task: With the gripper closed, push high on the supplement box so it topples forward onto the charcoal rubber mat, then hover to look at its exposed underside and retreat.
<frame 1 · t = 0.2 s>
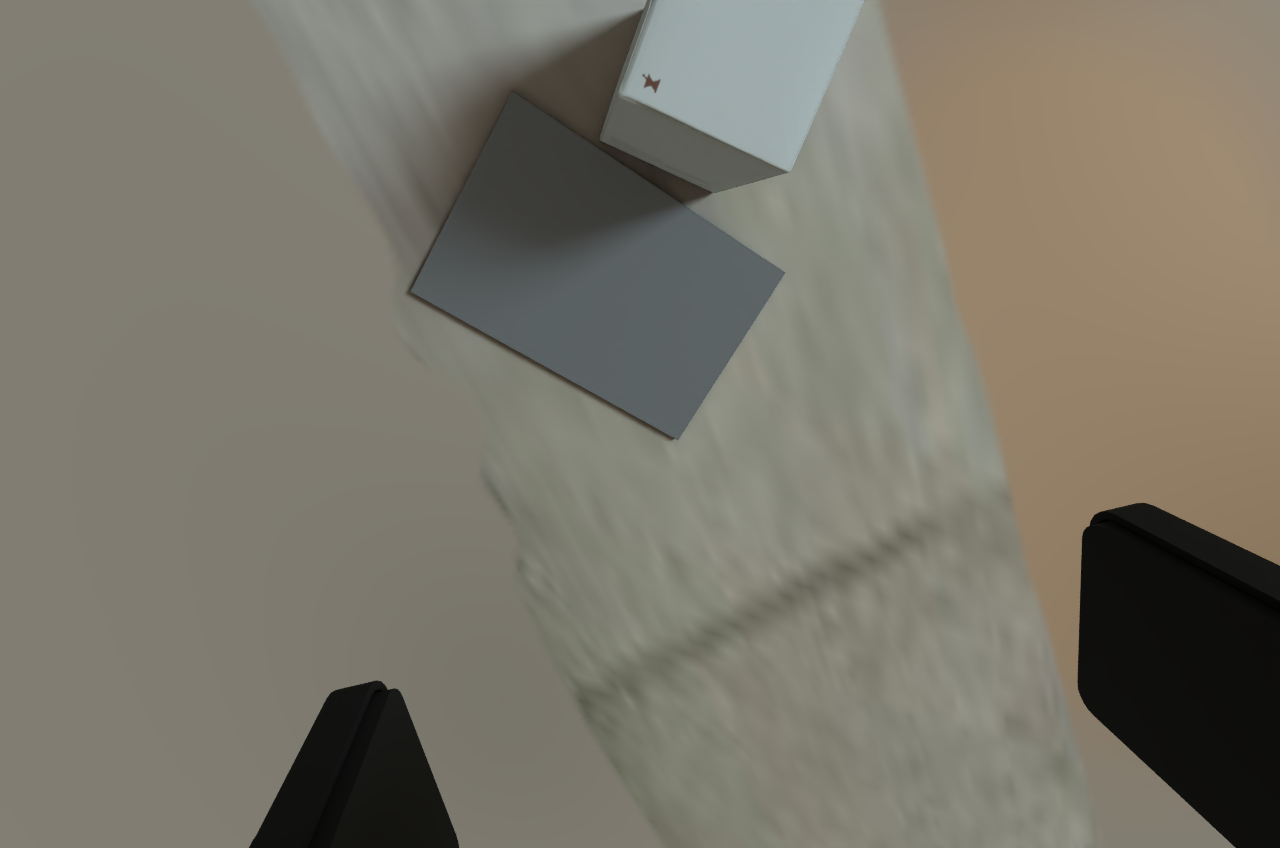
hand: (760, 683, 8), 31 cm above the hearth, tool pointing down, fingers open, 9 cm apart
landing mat: (602, 281, 37), on the hearth
supplement box: (683, 103, 35), on the hearth
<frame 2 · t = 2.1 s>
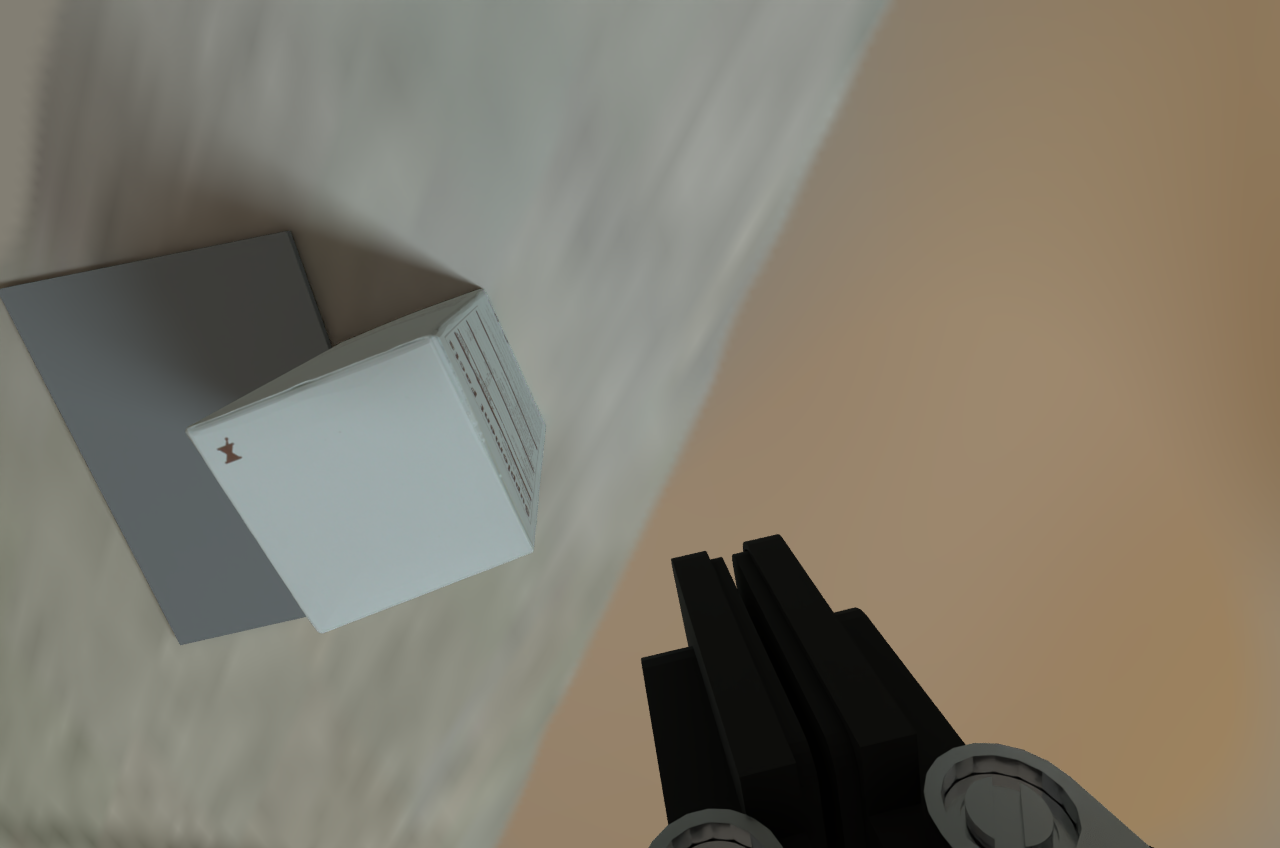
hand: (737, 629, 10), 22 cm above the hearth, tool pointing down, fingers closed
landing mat: (232, 453, 30), on the hearth
supplement box: (449, 385, 30), on the hearth
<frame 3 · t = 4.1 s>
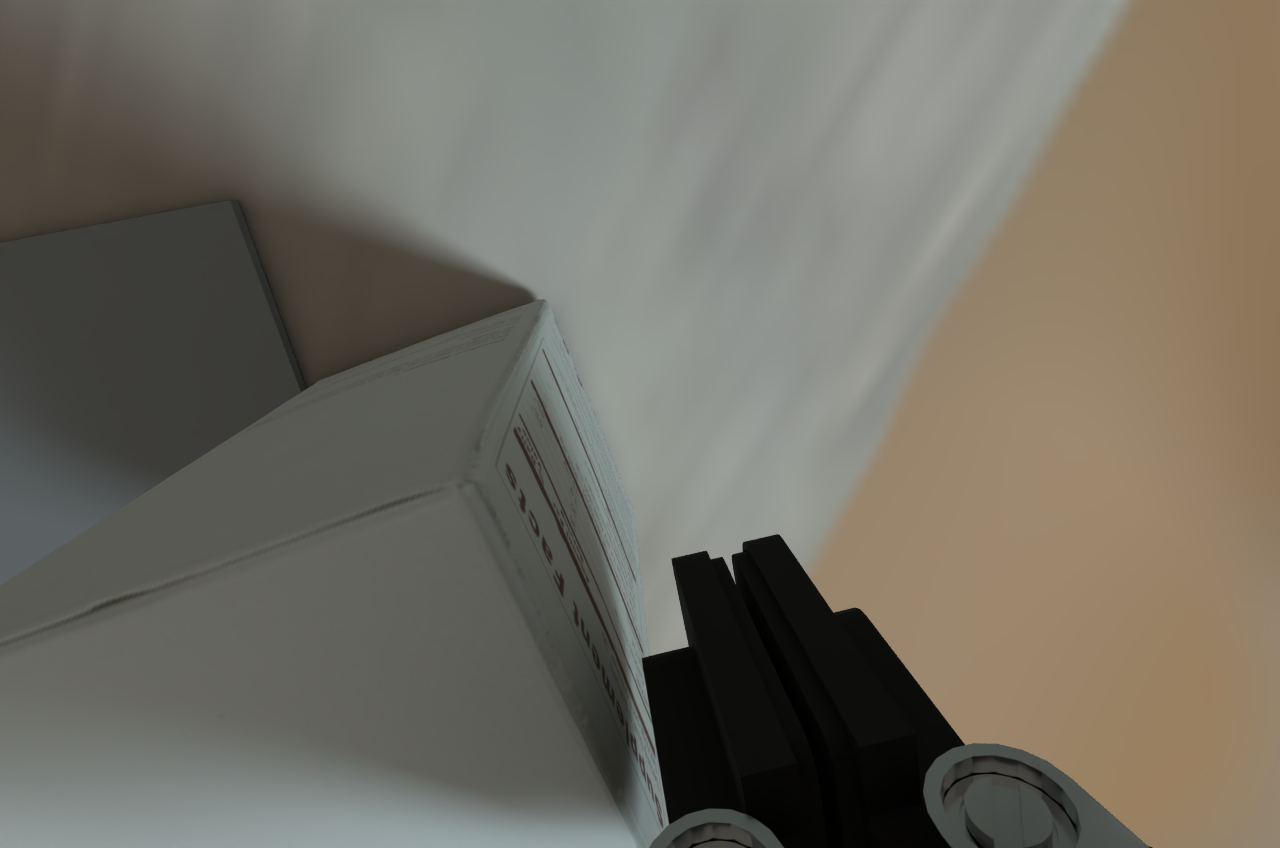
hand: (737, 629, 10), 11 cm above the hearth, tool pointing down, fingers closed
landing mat: (152, 547, 19), on the hearth
supplement box: (486, 445, 19), on the hearth, touching gripper
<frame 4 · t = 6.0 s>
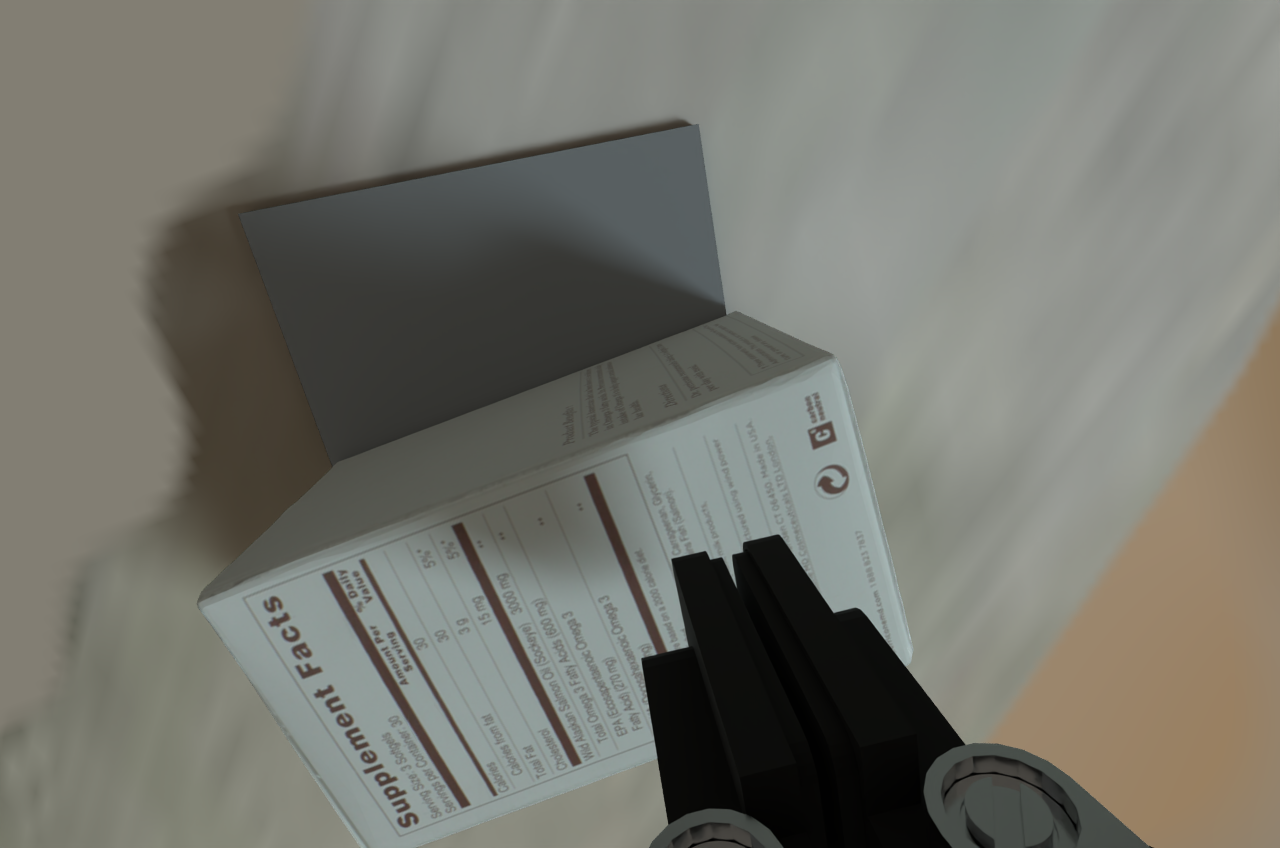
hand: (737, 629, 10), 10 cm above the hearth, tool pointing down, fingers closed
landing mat: (552, 478, 19), on the hearth
supplement box: (827, 458, 16), point 4 cm above the hearth, touching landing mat
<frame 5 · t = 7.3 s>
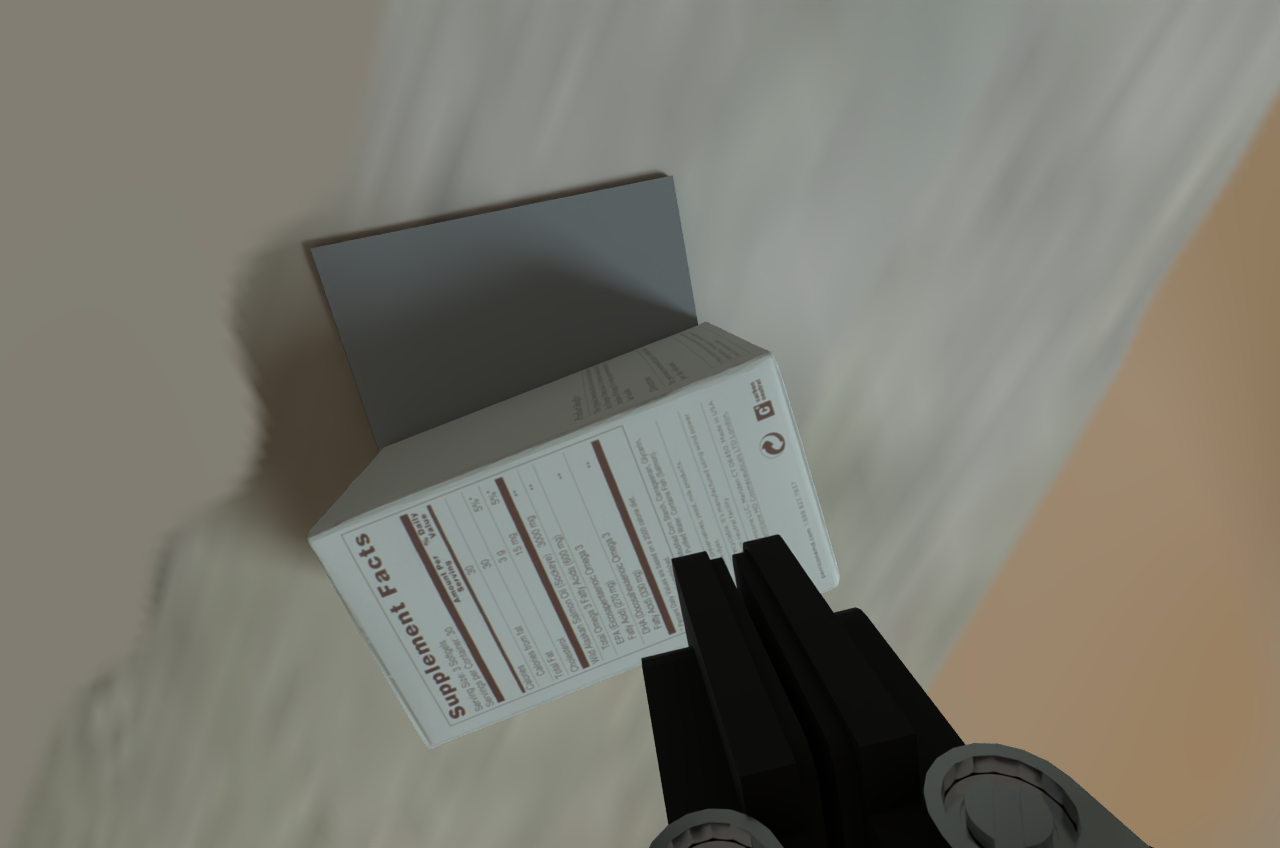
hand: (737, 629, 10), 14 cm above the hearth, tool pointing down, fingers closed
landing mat: (558, 460, 24), on the hearth
supplement box: (777, 435, 20), point 4 cm above the hearth, touching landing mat
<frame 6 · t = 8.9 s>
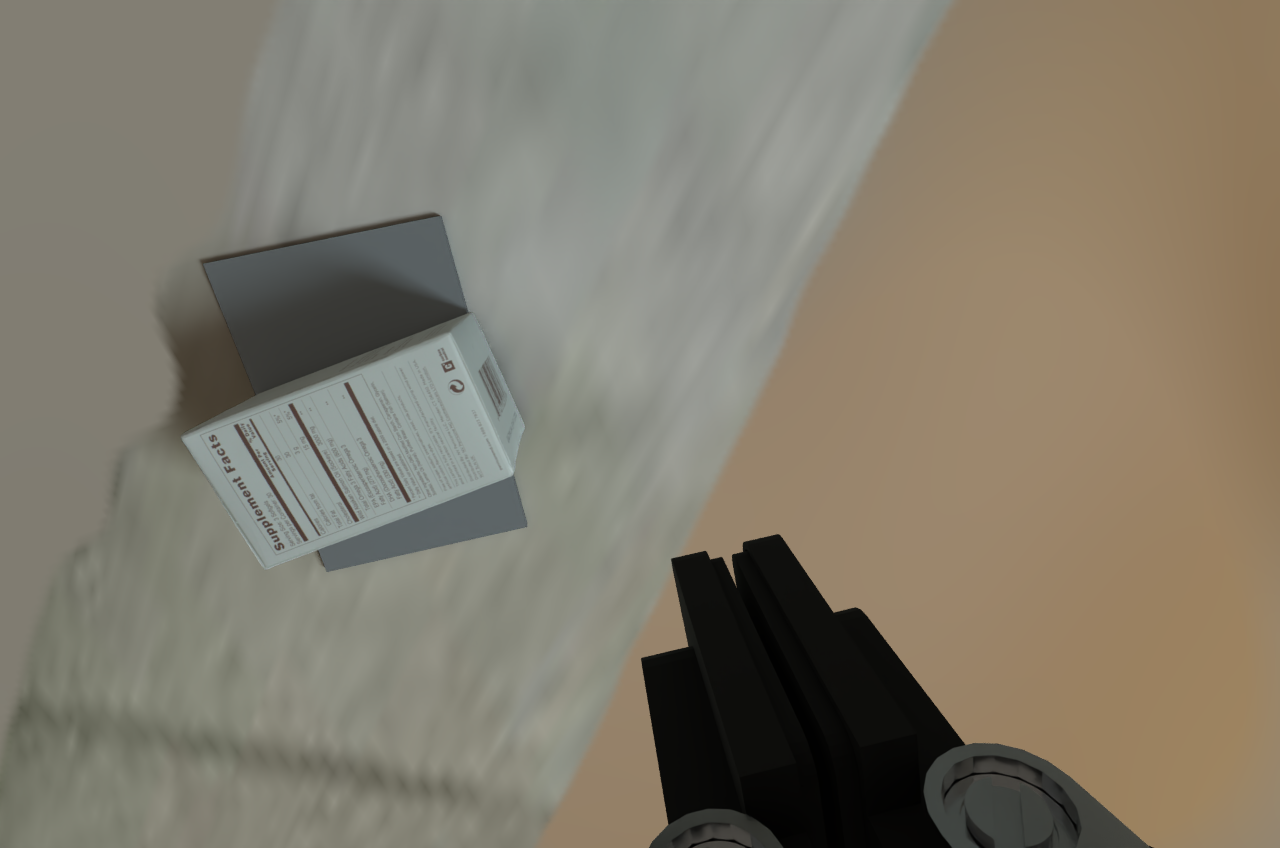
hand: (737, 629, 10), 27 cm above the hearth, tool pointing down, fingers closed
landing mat: (381, 405, 35), on the hearth
supplement box: (498, 386, 31), point 4 cm above the hearth, touching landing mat
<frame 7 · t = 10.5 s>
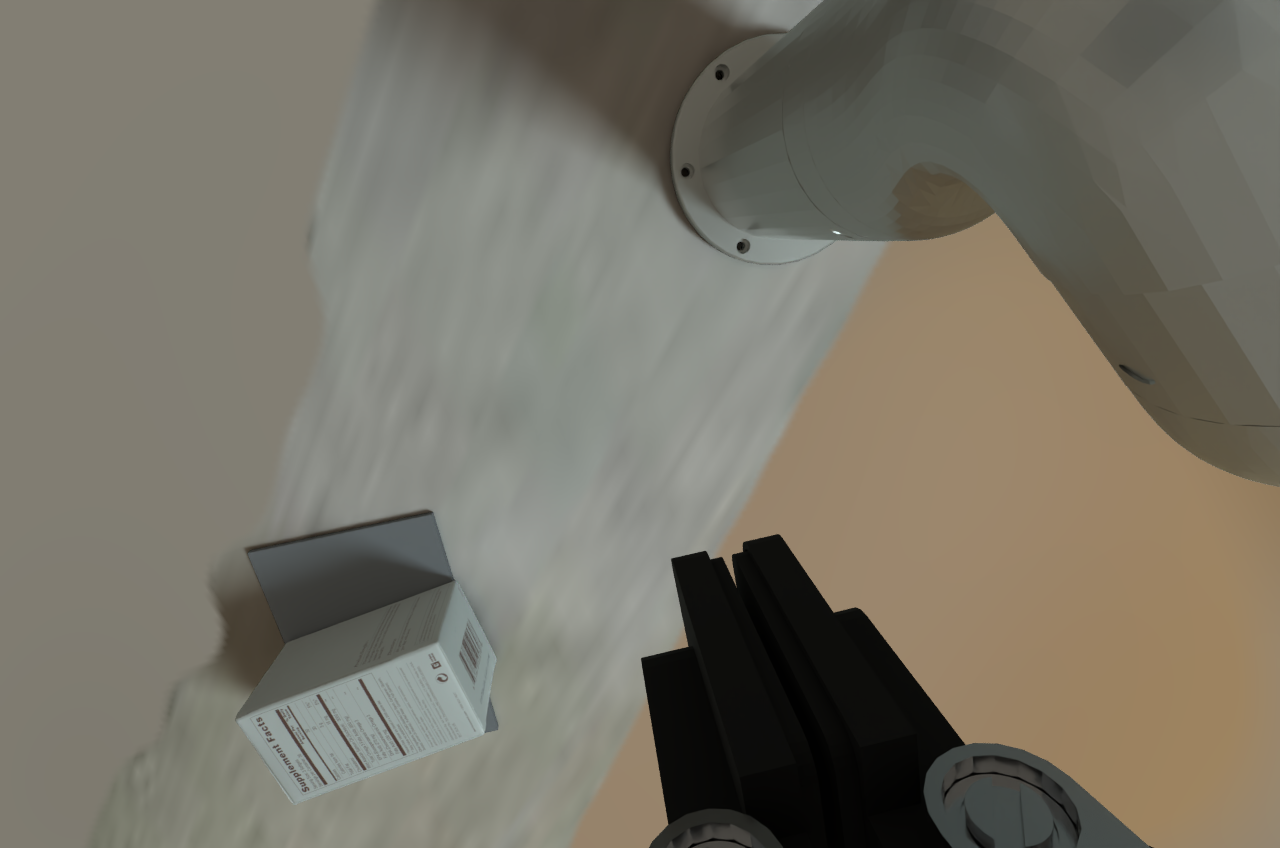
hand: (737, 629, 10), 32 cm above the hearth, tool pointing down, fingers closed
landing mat: (382, 644, 44), on the hearth
supplement box: (474, 651, 41), point 4 cm above the hearth, touching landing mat
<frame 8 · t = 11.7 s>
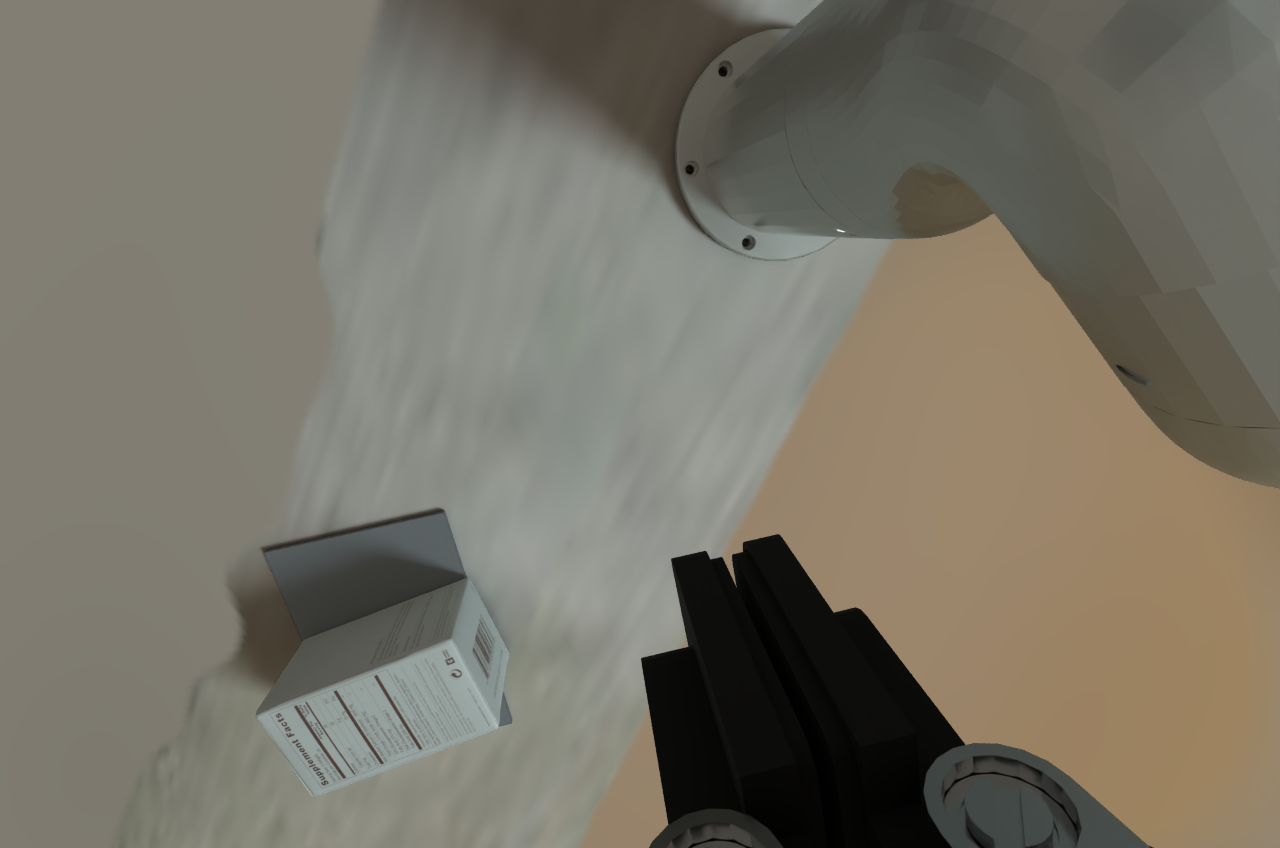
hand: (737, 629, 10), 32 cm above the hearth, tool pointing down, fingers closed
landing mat: (397, 640, 45), on the hearth
supplement box: (487, 647, 41), point 4 cm above the hearth, touching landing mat
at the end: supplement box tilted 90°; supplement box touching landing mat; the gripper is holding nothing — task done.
